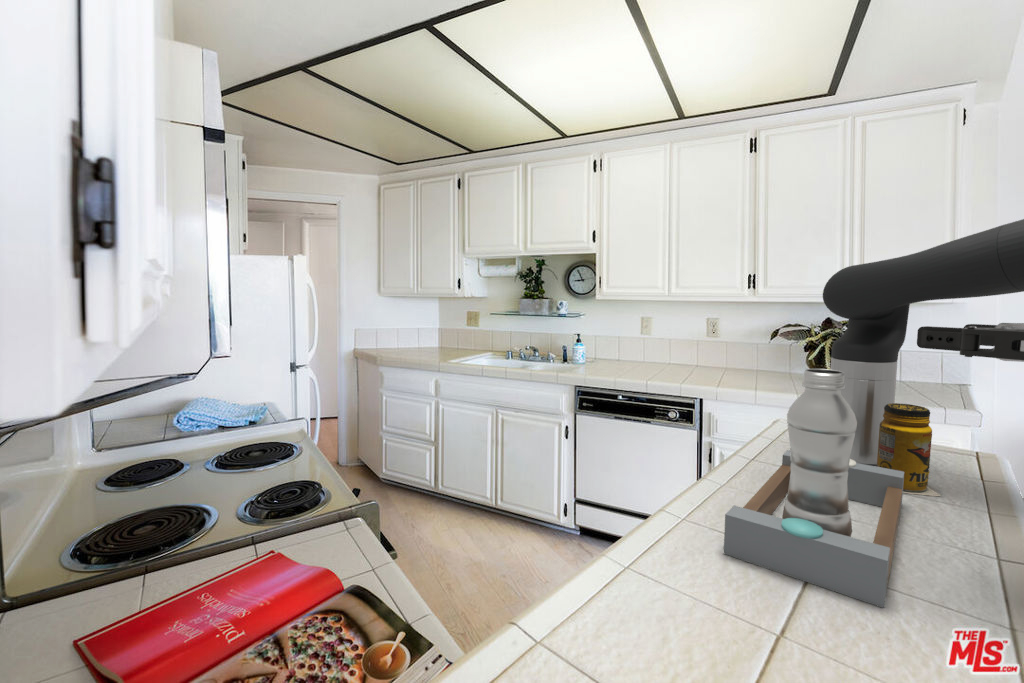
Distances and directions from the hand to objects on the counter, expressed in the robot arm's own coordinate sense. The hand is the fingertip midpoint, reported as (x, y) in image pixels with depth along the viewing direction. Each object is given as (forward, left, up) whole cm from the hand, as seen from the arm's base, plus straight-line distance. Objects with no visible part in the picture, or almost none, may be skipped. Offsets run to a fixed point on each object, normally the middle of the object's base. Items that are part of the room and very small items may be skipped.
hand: (942, 335), depth 51 cm
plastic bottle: (-2, -11, -24) cm, 27 cm away
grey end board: (+3, -17, -24) cm, 29 cm away
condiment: (-18, +13, -24) cm, 33 cm away
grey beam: (-15, +2, -24) cm, 29 cm away
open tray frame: (-6, -7, -24) cm, 26 cm away
